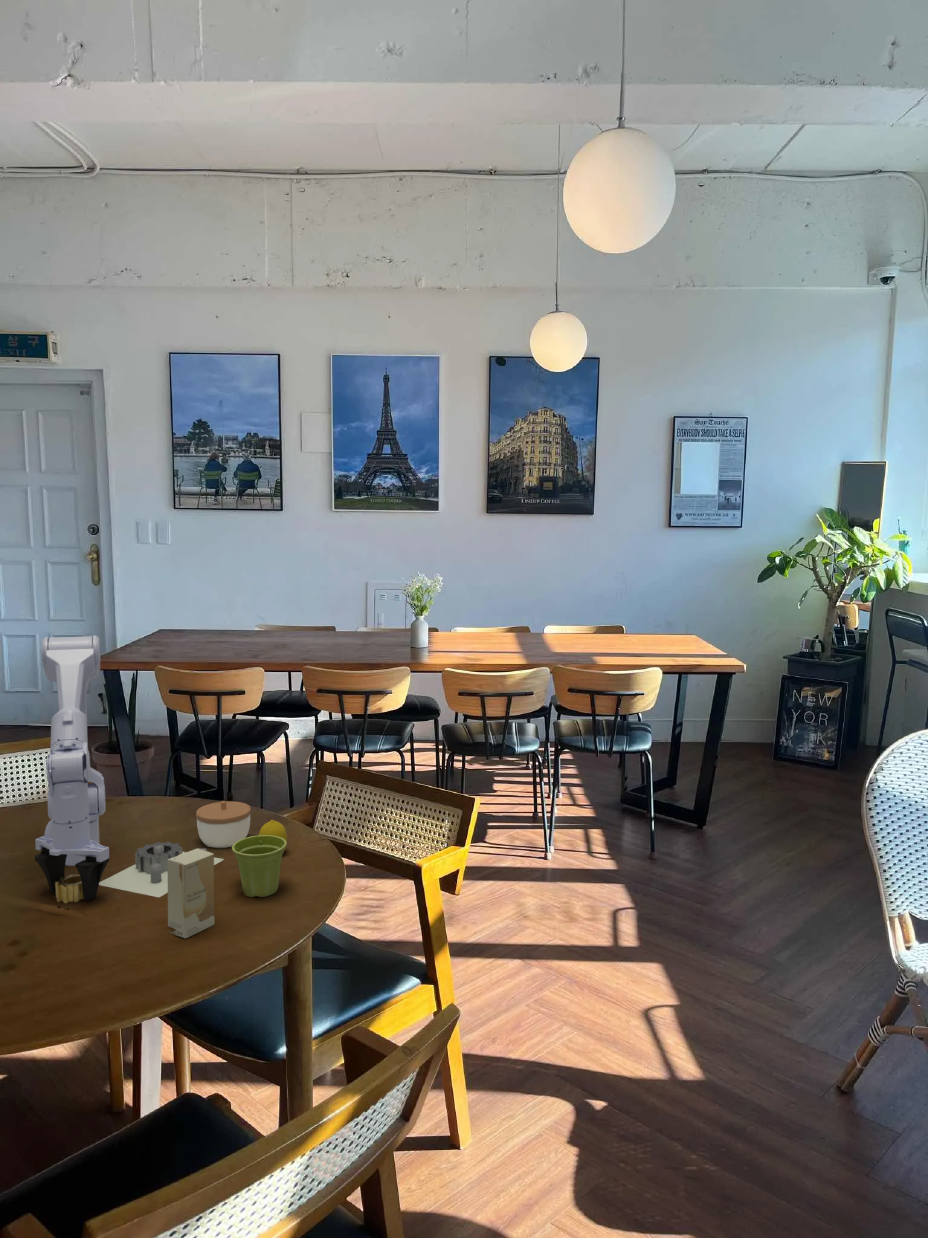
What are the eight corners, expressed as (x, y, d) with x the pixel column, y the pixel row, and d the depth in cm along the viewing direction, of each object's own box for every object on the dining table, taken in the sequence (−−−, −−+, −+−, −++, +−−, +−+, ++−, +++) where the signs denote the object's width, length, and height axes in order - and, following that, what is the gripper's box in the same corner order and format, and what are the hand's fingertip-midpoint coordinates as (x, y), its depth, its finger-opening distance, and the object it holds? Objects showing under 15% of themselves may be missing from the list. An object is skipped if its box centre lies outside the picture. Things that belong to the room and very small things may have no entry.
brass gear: (49, 906, 142) (48, 883, 142) (74, 893, 148) (73, 871, 147) (74, 911, 141) (73, 889, 140) (98, 898, 146) (97, 876, 145)
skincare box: (185, 940, 131) (183, 865, 130) (167, 933, 134) (164, 859, 132) (217, 924, 137) (215, 852, 135) (199, 917, 139) (197, 846, 138)
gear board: (96, 890, 149) (95, 865, 148) (165, 854, 165) (165, 831, 165) (159, 904, 144) (158, 877, 143) (224, 865, 160) (223, 841, 160)
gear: (126, 870, 155) (125, 854, 155) (157, 854, 162) (156, 839, 162) (161, 877, 152) (161, 861, 152) (191, 860, 160) (190, 845, 159)
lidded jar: (259, 849, 169) (258, 804, 168) (206, 860, 163) (205, 814, 162) (240, 833, 177) (240, 790, 176) (190, 843, 171) (189, 799, 170)
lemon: (280, 866, 160) (279, 826, 159) (253, 863, 161) (253, 823, 161) (291, 855, 166) (291, 816, 165) (266, 853, 167) (265, 814, 166)
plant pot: (252, 907, 143) (251, 859, 142) (222, 891, 149) (221, 844, 148) (297, 891, 150) (297, 844, 149) (267, 875, 156) (266, 831, 155)
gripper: (19, 820, 141) (22, 897, 143) (85, 832, 136) (88, 911, 138) (53, 807, 148) (56, 880, 149) (117, 818, 143) (119, 894, 144)
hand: (73, 894), depth 144 cm, fingers open, 7 cm apart
